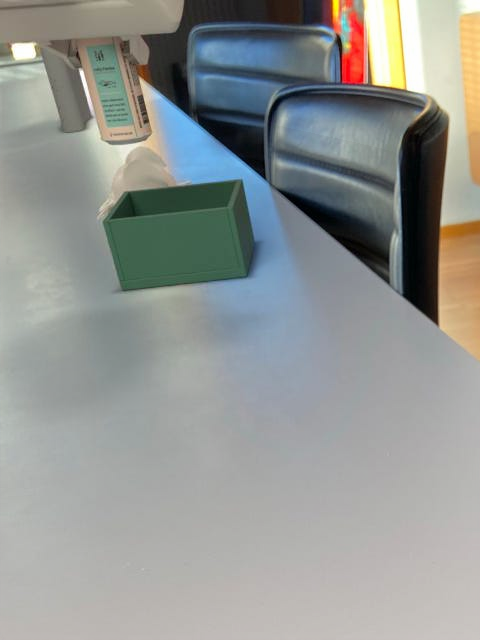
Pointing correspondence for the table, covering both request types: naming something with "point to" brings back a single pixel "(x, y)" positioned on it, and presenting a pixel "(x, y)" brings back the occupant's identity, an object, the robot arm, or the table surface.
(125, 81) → the teal-label supplement bottle
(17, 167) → the table surface
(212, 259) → the green storage bin
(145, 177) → the elephant figurine
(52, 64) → the gray upright slab
